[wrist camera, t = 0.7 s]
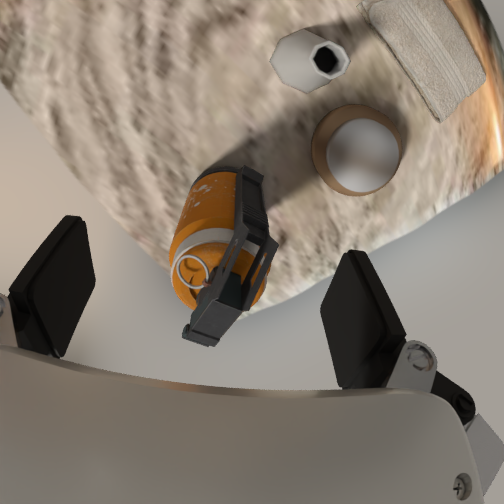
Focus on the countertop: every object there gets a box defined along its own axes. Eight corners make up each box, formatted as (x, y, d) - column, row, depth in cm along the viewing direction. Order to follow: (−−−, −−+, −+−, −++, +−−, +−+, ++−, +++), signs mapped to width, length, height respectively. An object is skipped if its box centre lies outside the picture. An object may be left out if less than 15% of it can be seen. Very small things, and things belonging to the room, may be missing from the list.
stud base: (321, 94, 29) (330, 98, 26) (404, 118, 30) (418, 124, 27) (302, 182, 35) (308, 194, 32) (380, 195, 36) (391, 208, 33)
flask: (349, 62, 26) (389, 65, 18) (306, 104, 30) (331, 120, 21) (301, 18, 24) (326, 1, 15) (257, 62, 27) (263, 59, 19)
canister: (178, 211, 37) (136, 338, 21) (219, 136, 32) (193, 227, 15) (239, 240, 40) (240, 373, 24) (285, 173, 34) (327, 289, 18)
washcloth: (407, -31, 18) (420, -36, 16) (481, 78, 26) (495, 81, 23) (347, 9, 23) (356, 5, 20) (432, 121, 30) (445, 128, 28)
